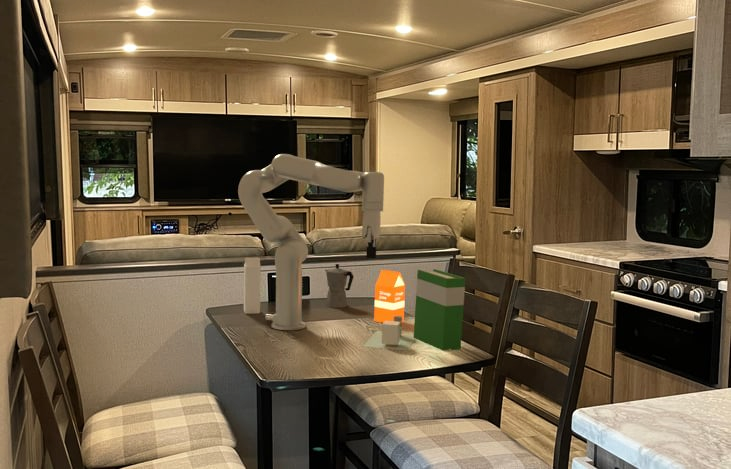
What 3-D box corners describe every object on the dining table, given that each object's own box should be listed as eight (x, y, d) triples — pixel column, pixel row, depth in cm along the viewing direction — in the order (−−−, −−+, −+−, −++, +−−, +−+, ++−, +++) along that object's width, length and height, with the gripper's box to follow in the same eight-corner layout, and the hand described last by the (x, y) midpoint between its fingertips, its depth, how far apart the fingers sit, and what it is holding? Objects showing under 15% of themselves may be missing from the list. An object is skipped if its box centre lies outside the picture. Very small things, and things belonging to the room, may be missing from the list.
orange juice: (392, 325, 257) (394, 273, 255) (373, 321, 262) (375, 270, 260) (404, 322, 263) (405, 271, 261) (385, 318, 268) (387, 268, 266)
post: (392, 336, 239) (393, 316, 238) (394, 334, 241) (394, 315, 240) (400, 337, 238) (400, 317, 237) (401, 335, 241) (402, 315, 240)
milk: (260, 313, 271) (261, 258, 269) (244, 313, 270) (245, 259, 267) (258, 310, 277) (259, 256, 275) (243, 310, 275) (244, 256, 273)
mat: (362, 347, 224) (362, 346, 224) (376, 332, 246) (376, 331, 246) (407, 351, 221) (407, 350, 221) (417, 335, 243) (417, 334, 243)
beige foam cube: (381, 343, 225) (382, 324, 224) (384, 339, 230) (385, 320, 229) (397, 344, 224) (397, 325, 223) (399, 341, 229) (400, 321, 228)
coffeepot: (317, 304, 290) (318, 263, 289) (332, 301, 298) (333, 261, 296) (344, 310, 281) (346, 267, 279) (359, 307, 288) (360, 265, 286)
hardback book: (413, 337, 238) (417, 269, 235) (431, 335, 241) (435, 269, 239) (442, 351, 223) (447, 278, 220) (460, 349, 226) (465, 278, 223)
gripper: (366, 205, 249) (365, 254, 251) (357, 207, 235) (356, 260, 237) (386, 206, 248) (385, 255, 249) (378, 208, 233) (377, 261, 235)
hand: (371, 257), depth 243 cm, fingers closed
